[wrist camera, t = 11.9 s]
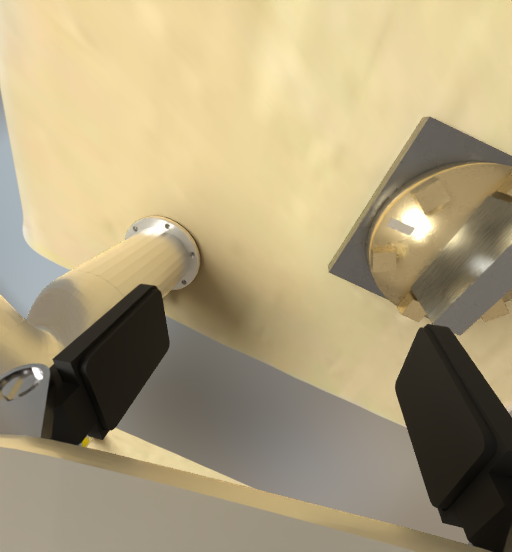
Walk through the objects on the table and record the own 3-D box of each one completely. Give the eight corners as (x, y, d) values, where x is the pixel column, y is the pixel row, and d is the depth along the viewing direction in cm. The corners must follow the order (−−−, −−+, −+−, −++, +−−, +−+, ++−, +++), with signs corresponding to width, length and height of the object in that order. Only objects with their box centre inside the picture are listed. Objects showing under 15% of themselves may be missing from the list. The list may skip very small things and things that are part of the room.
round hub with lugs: (586, 203, 27) (712, 235, 19) (458, 323, 36) (503, 383, 28) (429, 132, 27) (483, 131, 18) (339, 271, 36) (347, 315, 28)
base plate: (450, 322, 39) (456, 331, 37) (328, 265, 38) (328, 272, 37) (585, 196, 29) (603, 200, 27) (422, 117, 28) (429, 116, 27)
